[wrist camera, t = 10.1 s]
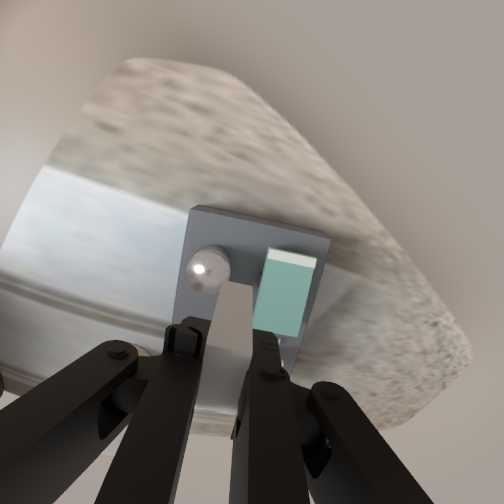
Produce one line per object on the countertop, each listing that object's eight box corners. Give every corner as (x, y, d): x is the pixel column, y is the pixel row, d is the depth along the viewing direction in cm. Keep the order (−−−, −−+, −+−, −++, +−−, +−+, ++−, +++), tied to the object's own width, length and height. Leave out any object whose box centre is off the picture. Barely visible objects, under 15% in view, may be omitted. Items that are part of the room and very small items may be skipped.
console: (175, 349, 36) (165, 371, 32) (198, 204, 32) (187, 209, 28) (283, 371, 37) (285, 395, 32) (322, 232, 33) (333, 241, 28)
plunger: (190, 278, 30) (183, 289, 27) (196, 241, 29) (189, 248, 26) (228, 287, 30) (225, 298, 27) (235, 249, 29) (233, 258, 26)
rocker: (251, 323, 29) (251, 329, 27) (268, 246, 28) (269, 247, 26) (294, 331, 29) (297, 338, 27) (312, 256, 28) (317, 257, 26)
